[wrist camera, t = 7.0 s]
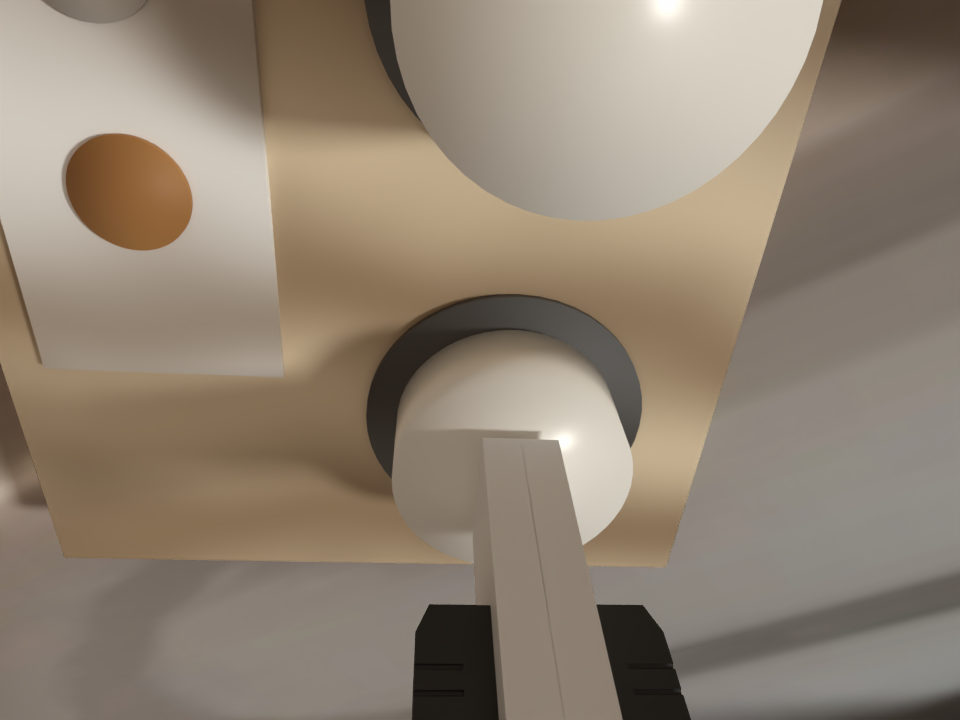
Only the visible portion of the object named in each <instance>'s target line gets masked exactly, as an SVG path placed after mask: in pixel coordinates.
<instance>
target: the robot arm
mask: <svg viewBox="0 0 960 720" xmlns="http://www.w3.org/2000/svg"><path fill="white" fill-rule="evenodd" d="M473 556H474V575H475V593H476V605H432V604H429V606H428V608H427V610H426V612H425V614H424V616H423V618H422V620H421V622H420V624H419V626H418V628H417V630H416V633H415V655H414V677H413V703H412V720H691V718H690V715H689V712H688V709H687V706H686V702H685V699H684V696H683V695H682V694H681V687H680V683H679V680H678V677H677V674H676V671H675V669H673V661H672V658H671V655H670V652H669V648H668V645H667V642H666V639H665V636H664V632H663V631H662V630H661V628H660V627H659V626H658V624H657V623H656V622H655V621H654V619H653V618H652V617H651V615H650V614H649V613H648V611H647V610H646V609H645V607H644V606H643V605H596V601H595V597H594V592H593V588H592V584H591V579H590V575H589V570H588V566H587V562H586V557H585V553H584V549H583V544H582V540H581V536H580V531H579V527H578V523H577V518H576V514H575V509H574V505H573V501H572V496H571V492H570V488H569V483H568V479H567V475H566V470H565V466H564V461H563V457H562V453H561V448H560V444H559V440H541V439H508V438H482V448H481V458H480V468H479V478H478V488H477V498H476V508H475V518H474V528H473Z"/></svg>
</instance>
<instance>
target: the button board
mask: <svg viewBox="0 0 960 720" xmlns="http://www.w3.org/2000/svg"><path fill="white" fill-rule="evenodd" d="M841 1H842V0H823V4H822V8H821V12H820V16H819V20H818V24H817V29H816V32H815V35H814V38H813V41H812V43H811V46H810V49H809V52H808V55H807V57H806V60H805V62H804V64H803V66H802V69H801V71H800V73H799V75H798V77H797V79H796V81H795V83H794V85H793V87H792V89H791V91H790V92H789V94H788V96H787V97H786V99H785V100H784V102H783V104H782V105H781V107H780V108H779V110H778V112H777V113H776V115H775V116H774V117H773V119H772V120H771V121H770V122H769V124H768V125H767V126H766V128H765V129H764V130H763V131H762V133H761V134H760V135H759V137H758V138H757V139H756V140H755V141H754V142H753V143H752V144H751V145H750V146H749V147H748V148H747V149H746V150H745V151H744V152H743V153H742V154H741V155H740V156H739V157H738V158H737V159H736V160H735V161H734V162H732V163H731V164H730V165H729V166H728V167H727V168H725V169H724V170H723V171H722V172H721V173H719V174H718V175H717V176H715V177H714V178H712V179H711V180H709V181H708V182H707V183H705V184H704V185H702V186H701V187H699V188H698V189H696V190H694V191H692V192H691V193H689V194H687V195H685V196H683V197H681V198H679V199H677V200H675V201H673V202H671V203H668V204H666V205H663V206H661V207H658V208H656V209H653V210H650V211H647V212H643V213H639V214H636V215H632V216H628V217H623V218H616V219H608V220H600V221H575V220H567V219H558V218H551V217H547V216H543V215H539V214H536V213H532V212H528V211H526V210H523V209H521V208H518V207H516V206H513V205H511V204H508V203H506V202H504V201H502V200H501V199H499V198H497V197H495V196H494V195H492V194H490V193H488V192H487V191H485V190H484V189H482V188H481V187H480V186H478V185H477V184H476V183H474V182H473V181H472V180H470V179H469V178H468V177H466V176H465V175H464V174H463V173H462V172H461V171H460V170H459V169H458V168H457V167H456V166H455V165H454V164H453V163H452V162H451V161H450V160H449V159H448V158H447V157H446V156H445V155H444V153H443V152H442V151H441V149H440V148H439V147H438V146H437V144H436V143H435V142H434V141H433V139H432V138H431V137H430V135H429V133H428V132H427V130H426V128H425V127H424V125H423V123H422V122H421V120H420V118H419V116H418V115H417V113H416V111H415V108H414V106H413V104H412V102H411V99H410V97H409V95H408V92H407V90H406V88H405V85H404V81H403V78H402V75H401V71H400V68H399V65H398V61H397V57H396V51H395V45H394V40H393V34H392V26H391V6H390V0H0V364H1V367H2V370H3V373H4V376H5V379H6V382H7V385H8V388H9V391H10V394H11V397H12V400H13V403H14V406H15V409H16V412H17V415H18V418H19V421H20V424H21V427H22V430H23V433H24V436H25V439H26V442H27V445H28V448H29V451H30V454H31V458H32V461H33V464H34V467H35V470H36V473H37V476H38V479H39V482H40V485H41V488H42V491H43V494H44V497H45V500H46V503H47V506H48V509H49V512H50V515H51V518H52V521H53V524H54V527H55V530H56V533H57V536H58V539H59V542H60V545H61V548H62V551H63V554H64V557H65V558H118V559H181V560H243V561H306V562H369V563H431V564H474V563H471V562H467V561H463V560H459V559H457V558H454V557H451V556H449V555H446V554H444V553H442V552H440V551H438V550H436V549H435V548H433V547H432V546H430V545H429V544H427V543H426V542H424V541H423V540H422V539H421V538H419V537H418V536H417V535H416V534H415V533H414V532H413V531H412V530H411V529H410V527H409V526H408V525H407V524H406V522H405V521H404V519H403V518H402V516H401V515H400V513H399V510H398V508H397V506H396V503H395V500H394V496H393V492H392V469H393V457H394V445H395V434H396V422H397V412H398V406H399V403H400V399H401V396H402V394H403V392H404V389H405V387H406V385H407V384H408V382H409V381H410V379H411V377H412V376H413V375H414V373H415V372H416V371H417V370H418V369H419V368H420V366H421V365H422V364H423V363H425V362H426V361H427V360H428V359H429V358H430V357H431V356H433V355H434V354H436V353H437V352H438V351H440V350H441V349H443V348H445V347H446V346H448V345H450V344H452V343H454V342H456V341H459V340H461V339H464V338H467V337H469V336H472V335H477V334H481V333H485V332H491V331H499V330H522V331H531V332H536V333H541V334H545V335H548V336H551V337H554V338H557V339H559V340H562V341H564V342H565V343H567V344H569V345H571V346H573V347H574V348H576V349H577V350H579V351H580V352H582V353H583V354H584V355H585V356H586V357H587V358H589V359H590V360H591V361H592V362H593V363H594V365H595V366H596V367H597V368H598V370H599V371H600V372H601V374H602V376H603V377H604V379H605V381H606V383H607V385H608V388H609V391H610V394H611V396H612V399H613V402H614V405H615V407H616V410H617V413H618V416H619V419H620V421H621V424H622V427H623V430H624V432H625V435H626V438H627V441H628V443H629V446H630V449H631V454H632V459H633V477H632V483H631V487H630V490H629V493H628V496H627V498H626V500H625V502H624V504H623V506H622V508H621V510H620V511H619V512H618V514H617V515H616V517H615V518H614V519H613V520H612V521H611V523H610V524H609V525H608V526H607V527H606V528H605V529H604V530H603V531H601V532H600V533H599V534H598V535H597V536H596V537H594V538H593V539H591V540H590V541H588V542H587V543H586V544H584V545H583V549H584V553H585V557H586V562H587V566H619V567H666V565H667V562H668V559H669V556H670V552H671V549H672V546H673V543H674V540H675V536H676V533H677V530H678V527H679V523H680V520H681V517H682V514H683V511H684V507H685V504H686V501H687V498H688V494H689V491H690V488H691V485H692V482H693V478H694V475H695V472H696V469H697V465H698V462H699V459H700V456H701V452H702V449H703V446H704V443H705V440H706V436H707V433H708V430H709V427H710V423H711V420H712V417H713V414H714V411H715V407H716V404H717V401H718V398H719V394H720V391H721V388H722V385H723V381H724V378H725V375H726V372H727V369H728V365H729V362H730V359H731V356H732V352H733V349H734V346H735V343H736V340H737V336H738V333H739V330H740V327H741V323H742V320H743V317H744V314H745V310H746V307H747V304H748V301H749V298H750V294H751V291H752V288H753V285H754V281H755V278H756V275H757V272H758V269H759V265H760V262H761V259H762V256H763V252H764V249H765V246H766V243H767V240H768V236H769V233H770V230H771V227H772V223H773V220H774V217H775V214H776V210H777V207H778V204H779V201H780V198H781V194H782V191H783V188H784V185H785V181H786V178H787V175H788V172H789V169H790V165H791V162H792V159H793V156H794V152H795V149H796V146H797V143H798V139H799V136H800V133H801V130H802V127H803V123H804V120H805V117H806V114H807V110H808V107H809V104H810V101H811V98H812V94H813V91H814V88H815V85H816V81H817V78H818V75H819V72H820V69H821V65H822V62H823V59H824V56H825V52H826V49H827V46H828V43H829V39H830V36H831V33H832V30H833V27H834V23H835V20H836V17H837V14H838V10H839V7H840V4H841Z"/></svg>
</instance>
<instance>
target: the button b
mask: <svg viewBox="0 0 960 720" xmlns="http://www.w3.org/2000/svg"><path fill="white" fill-rule="evenodd" d="M822 4H823V0H390V6H391V26H392V34H393V40H394V45H395V51H396V57H397V61H398V65H399V68H400V71H401V75H402V78H403V81H404V85H405V88H406V90H407V92H408V95H409V97H410V99H411V102H412V104H413V106H414V108H415V111H416V113H417V115H418V116H419V118H420V120H421V122H422V123H423V125H424V127H425V128H426V130H427V132H428V133H429V135H430V137H431V138H432V139H433V141H434V142H435V143H436V144H437V146H438V147H439V148H440V149H441V151H442V152H443V153H444V155H445V156H446V157H447V158H448V159H449V160H450V161H451V162H452V163H453V164H454V165H455V166H456V167H457V168H458V169H459V170H460V171H461V172H462V173H463V174H464V175H465V176H466V177H468V178H469V179H470V180H472V181H473V182H474V183H476V184H477V185H478V186H480V187H481V188H482V189H484V190H485V191H487V192H488V193H490V194H492V195H494V196H495V197H497V198H499V199H501V200H502V201H504V202H506V203H508V204H511V205H513V206H516V207H518V208H521V209H523V210H526V211H528V212H532V213H536V214H539V215H543V216H547V217H551V218H558V219H567V220H575V221H600V220H608V219H616V218H623V217H628V216H632V215H636V214H639V213H643V212H647V211H650V210H653V209H656V208H658V207H661V206H663V205H666V204H668V203H671V202H673V201H675V200H677V199H679V198H681V197H683V196H685V195H687V194H689V193H691V192H692V191H694V190H696V189H698V188H699V187H701V186H702V185H704V184H705V183H707V182H708V181H709V180H711V179H712V178H714V177H715V176H717V175H718V174H719V173H721V172H722V171H723V170H724V169H725V168H727V167H728V166H729V165H730V164H731V163H732V162H734V161H735V160H736V159H737V158H738V157H739V156H740V155H741V154H742V153H743V152H744V151H745V150H746V149H747V148H748V147H749V146H750V145H751V144H752V143H753V142H754V141H755V140H756V139H757V138H758V137H759V135H760V134H761V133H762V131H763V130H764V129H765V128H766V126H767V125H768V124H769V122H770V121H771V120H772V119H773V117H774V116H775V115H776V113H777V112H778V110H779V108H780V107H781V105H782V104H783V102H784V100H785V99H786V97H787V96H788V94H789V92H790V91H791V89H792V87H793V85H794V83H795V81H796V79H797V77H798V75H799V73H800V71H801V69H802V66H803V64H804V62H805V60H806V57H807V55H808V52H809V49H810V46H811V43H812V41H813V38H814V35H815V32H816V29H817V24H818V20H819V16H820V12H821V8H822Z"/></svg>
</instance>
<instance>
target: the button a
mask: <svg viewBox="0 0 960 720" xmlns="http://www.w3.org/2000/svg"><path fill="white" fill-rule="evenodd" d="M482 438H508V439H541V440H559V444H560V448H561V453H562V457H563V461H564V466H565V470H566V475H567V479H568V483H569V488H570V492H571V496H572V501H573V505H574V509H575V514H576V518H577V523H578V527H579V531H580V536H581V540H582V544H583V545H584V544H586V543H587V542H588V541H590V540H591V539H593V538H594V537H596V536H597V535H598V534H599V533H600V532H601V531H603V530H604V529H605V528H606V527H607V526H608V525H609V524H610V523H611V521H612V520H613V519H614V518H615V517H616V515H617V514H618V512H619V511H620V510H621V508H622V506H623V504H624V502H625V500H626V498H627V496H628V493H629V490H630V487H631V483H632V477H633V459H632V454H631V449H630V446H629V443H628V441H627V438H626V435H625V432H624V430H623V427H622V424H621V421H620V419H619V416H618V413H617V410H616V407H615V405H614V402H613V399H612V396H611V394H610V391H609V388H608V385H607V383H606V381H605V379H604V377H603V376H602V374H601V372H600V371H599V370H598V368H597V367H596V366H595V365H594V363H593V362H592V361H591V360H590V359H589V358H587V357H586V356H585V355H584V354H583V353H582V352H580V351H579V350H577V349H576V348H574V347H573V346H571V345H569V344H567V343H565V342H564V341H562V340H559V339H557V338H554V337H551V336H548V335H545V334H541V333H536V332H531V331H522V330H499V331H491V332H485V333H481V334H477V335H472V336H469V337H467V338H464V339H461V340H459V341H456V342H454V343H452V344H450V345H448V346H446V347H445V348H443V349H441V350H440V351H438V352H437V353H436V354H434V355H433V356H431V357H430V358H429V359H428V360H427V361H426V362H425V363H423V364H422V365H421V366H420V368H419V369H418V370H417V371H416V372H415V373H414V375H413V376H412V377H411V379H410V381H409V382H408V384H407V385H406V387H405V389H404V392H403V394H402V396H401V399H400V403H399V406H398V412H397V422H396V434H395V445H394V457H393V469H392V492H393V496H394V500H395V503H396V506H397V508H398V510H399V513H400V515H401V516H402V518H403V519H404V521H405V522H406V524H407V525H408V526H409V527H410V529H411V530H412V531H413V532H414V533H415V534H416V535H417V536H418V537H419V538H421V539H422V540H423V541H424V542H426V543H427V544H429V545H430V546H432V547H433V548H435V549H436V550H438V551H440V552H442V553H444V554H446V555H449V556H451V557H454V558H457V559H459V560H463V561H467V562H471V563H474V556H473V528H474V518H475V508H476V498H477V488H478V478H479V468H480V458H481V448H482Z"/></svg>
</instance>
